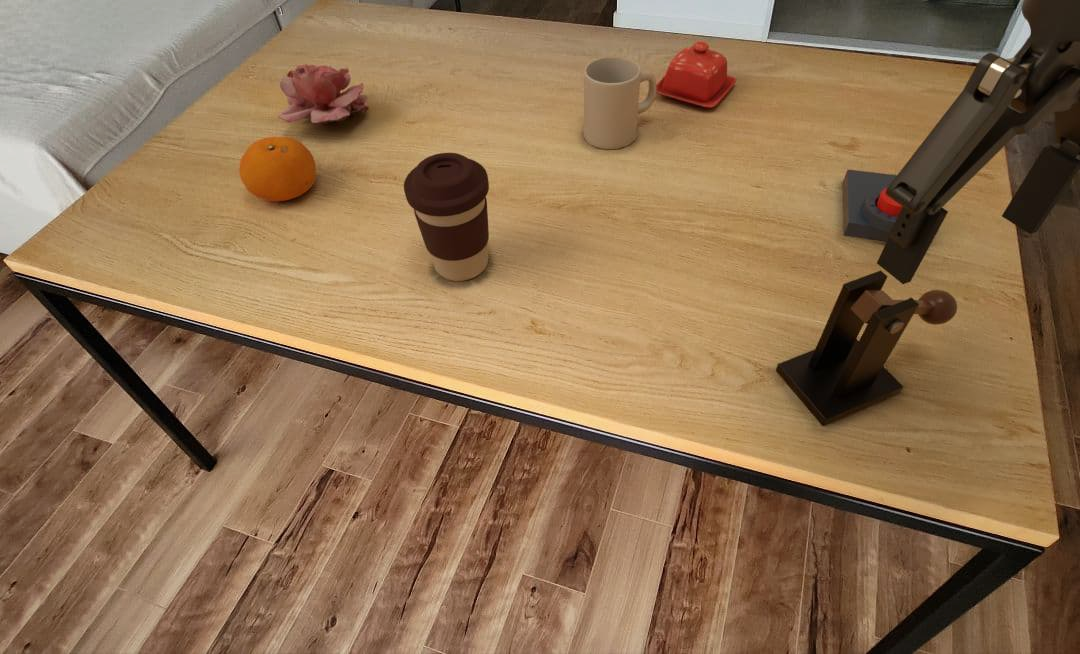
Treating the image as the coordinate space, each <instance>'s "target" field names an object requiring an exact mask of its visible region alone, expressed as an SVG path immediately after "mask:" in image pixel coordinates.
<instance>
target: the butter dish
mask: <svg viewBox="0 0 1080 654" xmlns="http://www.w3.org/2000/svg"><path fill="white" fill-rule="evenodd" d="M736 82H737V78H735V76H731V75H728V58H727V57H726V56H725V55H723V54H722V53H721V52H718V51H716V50H713V49H710V46H709V44H708V43H707V42H705V41H701V40H699V41H696V42H694V44H692V46H688V47H685V48H683V49H681V50H680V51H679V52H677V53H676V54H675V56H674V57H673V58H672V59H671V61H670V62H669V64H668V66H667V70H666V73H665V75H664V76H663V77H662V78H661V79H660V80H659V81H658V82H657V83H656V94H658V95H661V96H664V97H668V98H672V99H676V100H679V101H681V102H682V101H683V102H686V103H689V104H692V105H696V106H699V107H703V108H709V109H711V108H714V107H715V106H717V105H718V104H719V103H720V101H722V99H723V98H725V96H726V95H727V94H728V92H729V91H730V90H731V89H732V88H733V87H734V85H735V84H736Z"/></svg>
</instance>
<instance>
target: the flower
mask: <svg viewBox="0 0 1080 654" xmlns="http://www.w3.org/2000/svg"><path fill="white" fill-rule="evenodd" d="M349 71H350V70H349V68H348V67H347V66H346V67H345V68H340V69H338V70H337V69H335V68H332V65H330V66H329V65H314V64H310V65H308V64H307V63H306V64H301V65H296V68H295V69H294V70H293V69H291V70H289V71H288V73H287V75H283V76H282V78H281V79H280V81H279V87H280V90H281V92H282V93H283V94H284V95H285V96H286V101H287V103H288V105H289V106H288V107H287V108H285V109H284V110H282V111H281V112H280V113H279V114H278V119H280V120H282V121H286V122H288V123H293V122H299V121H302V120H307V119H308V118H310V121H311V123H312V124H324V123H334V124H336V122H342V121H344V120H345V119H347V118H348V117H349V116H350V115H351V113H356V112H358V111H361V113H366V112H367V111H368V110H369V109H370V107H369V106H368V104H365V103H366V102H367V100H368V98H369V96H368V95H367V94H362V92H363V90H364V87H365V86H364V83H363V82H361V83H359V84H357V85H356V84H355V85H352V86H350V87H349V88H347V87H348V86H349V85H350V83H351V80H352V78H351V75H350V73H349ZM345 89H346V90H345Z"/></svg>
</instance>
